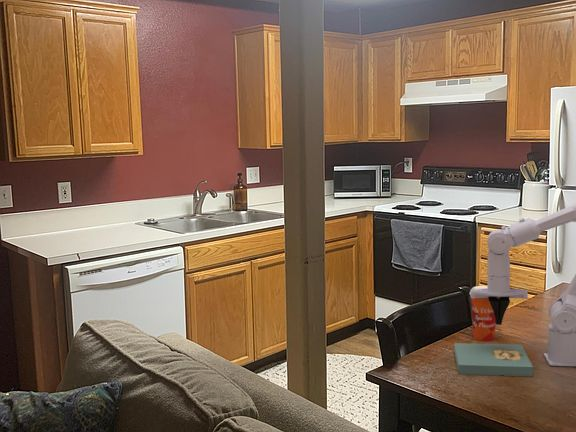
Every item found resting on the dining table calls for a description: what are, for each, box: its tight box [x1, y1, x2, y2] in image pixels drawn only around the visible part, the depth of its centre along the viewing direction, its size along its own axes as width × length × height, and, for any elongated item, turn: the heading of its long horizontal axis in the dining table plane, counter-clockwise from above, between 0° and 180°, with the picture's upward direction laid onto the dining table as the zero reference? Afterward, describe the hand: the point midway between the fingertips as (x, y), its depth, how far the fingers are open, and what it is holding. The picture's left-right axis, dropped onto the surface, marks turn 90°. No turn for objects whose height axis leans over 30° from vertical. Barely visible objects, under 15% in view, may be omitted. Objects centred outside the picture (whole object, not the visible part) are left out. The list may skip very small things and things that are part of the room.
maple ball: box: [501, 353, 511, 358], centre depth 163 cm, size 3×3×3 cm
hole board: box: [453, 342, 534, 377], centre depth 164 cm, size 18×16×2 cm
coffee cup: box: [470, 285, 496, 342], centre depth 182 cm, size 8×8×15 cm
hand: (498, 323), depth 167 cm, fingers closed
